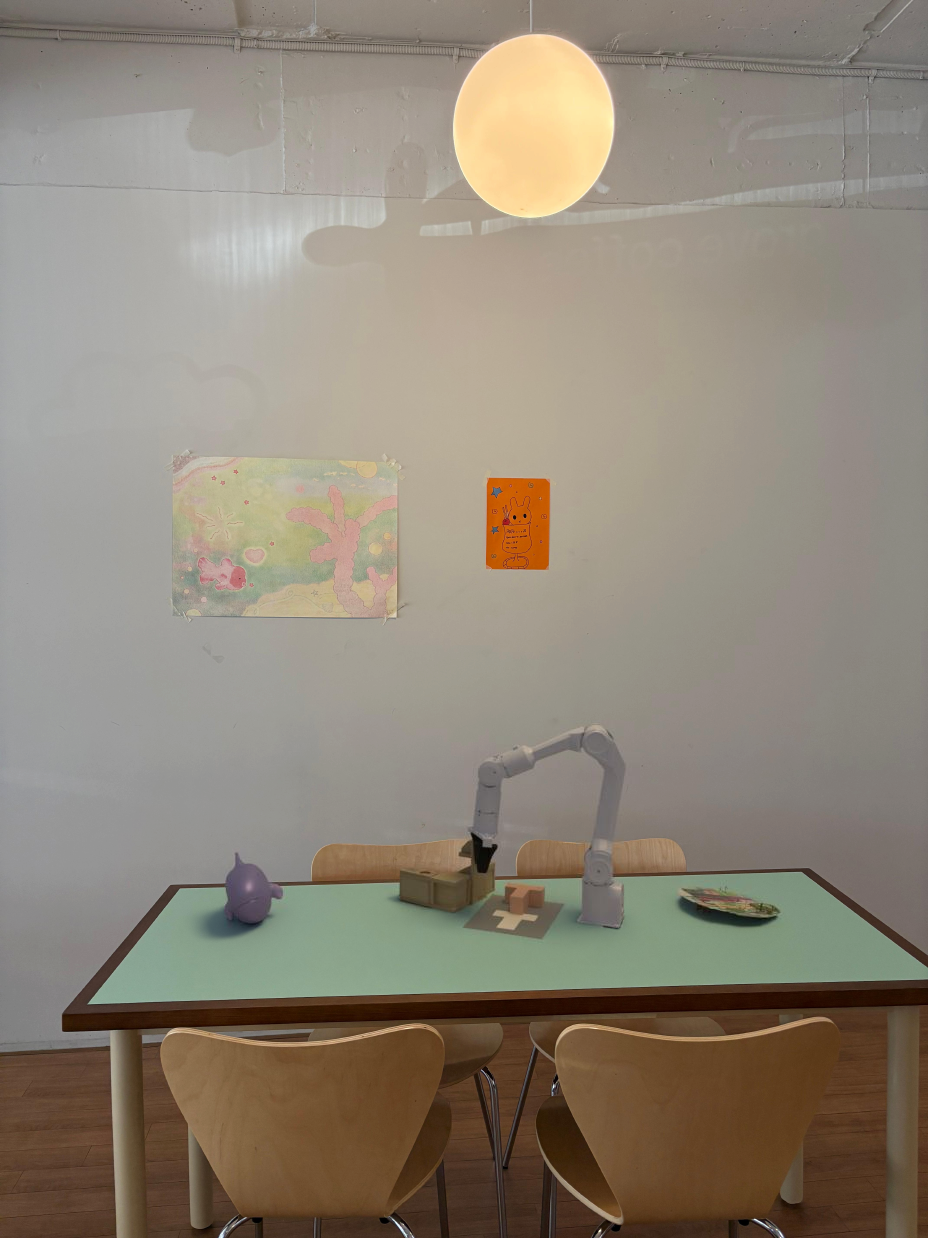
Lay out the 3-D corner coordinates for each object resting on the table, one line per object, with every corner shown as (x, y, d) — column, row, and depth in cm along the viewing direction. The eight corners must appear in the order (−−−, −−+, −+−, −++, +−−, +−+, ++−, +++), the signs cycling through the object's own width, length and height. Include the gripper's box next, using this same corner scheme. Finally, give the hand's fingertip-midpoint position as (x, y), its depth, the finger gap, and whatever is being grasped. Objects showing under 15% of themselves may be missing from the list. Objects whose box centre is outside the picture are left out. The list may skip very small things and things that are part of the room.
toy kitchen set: (442, 880, 215) (442, 821, 215) (497, 892, 206) (498, 831, 206) (398, 900, 200) (399, 837, 200) (456, 914, 191) (457, 849, 191)
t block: (544, 903, 198) (544, 887, 198) (535, 917, 189) (535, 899, 189) (508, 899, 201) (508, 882, 201) (497, 911, 192) (497, 894, 192)
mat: (564, 905, 198) (564, 904, 198) (542, 940, 177) (542, 939, 177) (492, 895, 204) (492, 894, 204) (462, 928, 183) (462, 927, 183)
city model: (804, 925, 193) (806, 898, 193) (741, 934, 180) (743, 906, 180) (717, 895, 214) (718, 871, 214) (654, 902, 200) (656, 876, 201)
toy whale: (225, 944, 175) (199, 873, 176) (235, 919, 199) (212, 857, 200) (287, 917, 178) (261, 847, 179) (289, 895, 202) (266, 834, 203)
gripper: (467, 801, 199) (461, 856, 199) (472, 817, 185) (466, 878, 185) (496, 803, 200) (490, 859, 200) (503, 820, 185) (497, 880, 186)
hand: (480, 868), depth 193 cm, fingers open, 5 cm apart
